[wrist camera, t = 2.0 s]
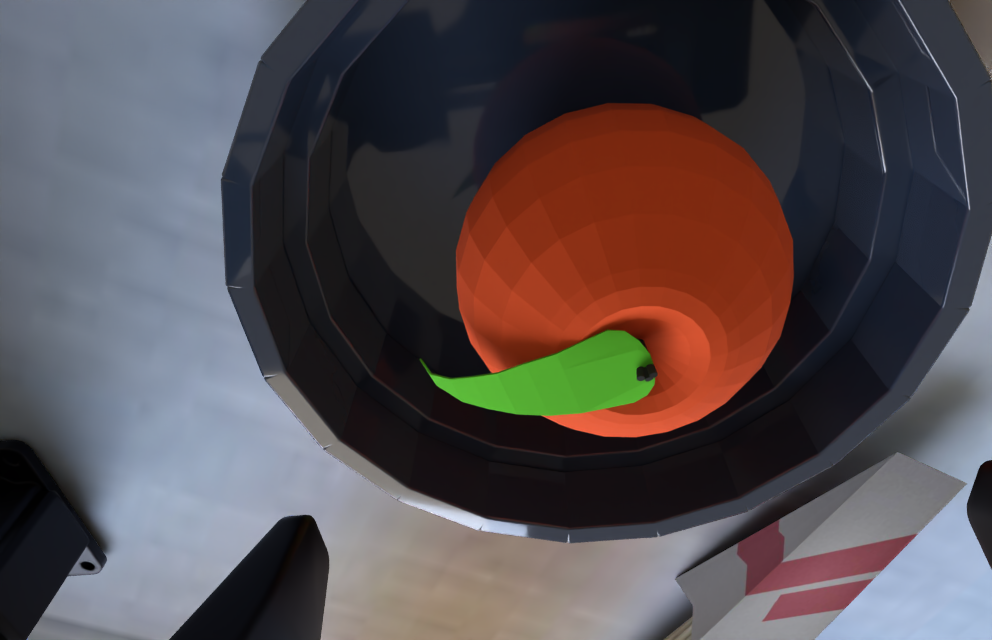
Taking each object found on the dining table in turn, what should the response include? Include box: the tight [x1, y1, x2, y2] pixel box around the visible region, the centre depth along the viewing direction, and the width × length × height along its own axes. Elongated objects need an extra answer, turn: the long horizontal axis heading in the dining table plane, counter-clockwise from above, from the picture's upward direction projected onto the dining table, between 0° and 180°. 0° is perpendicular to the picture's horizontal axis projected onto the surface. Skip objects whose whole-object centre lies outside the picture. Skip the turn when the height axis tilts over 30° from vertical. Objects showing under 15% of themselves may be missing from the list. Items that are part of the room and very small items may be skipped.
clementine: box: [420, 103, 794, 437], centre depth 14 cm, size 8×7×7 cm
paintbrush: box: [664, 452, 967, 640], centre depth 25 cm, size 4×3×20 cm
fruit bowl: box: [221, 0, 992, 543], centre depth 16 cm, size 15×15×4 cm
